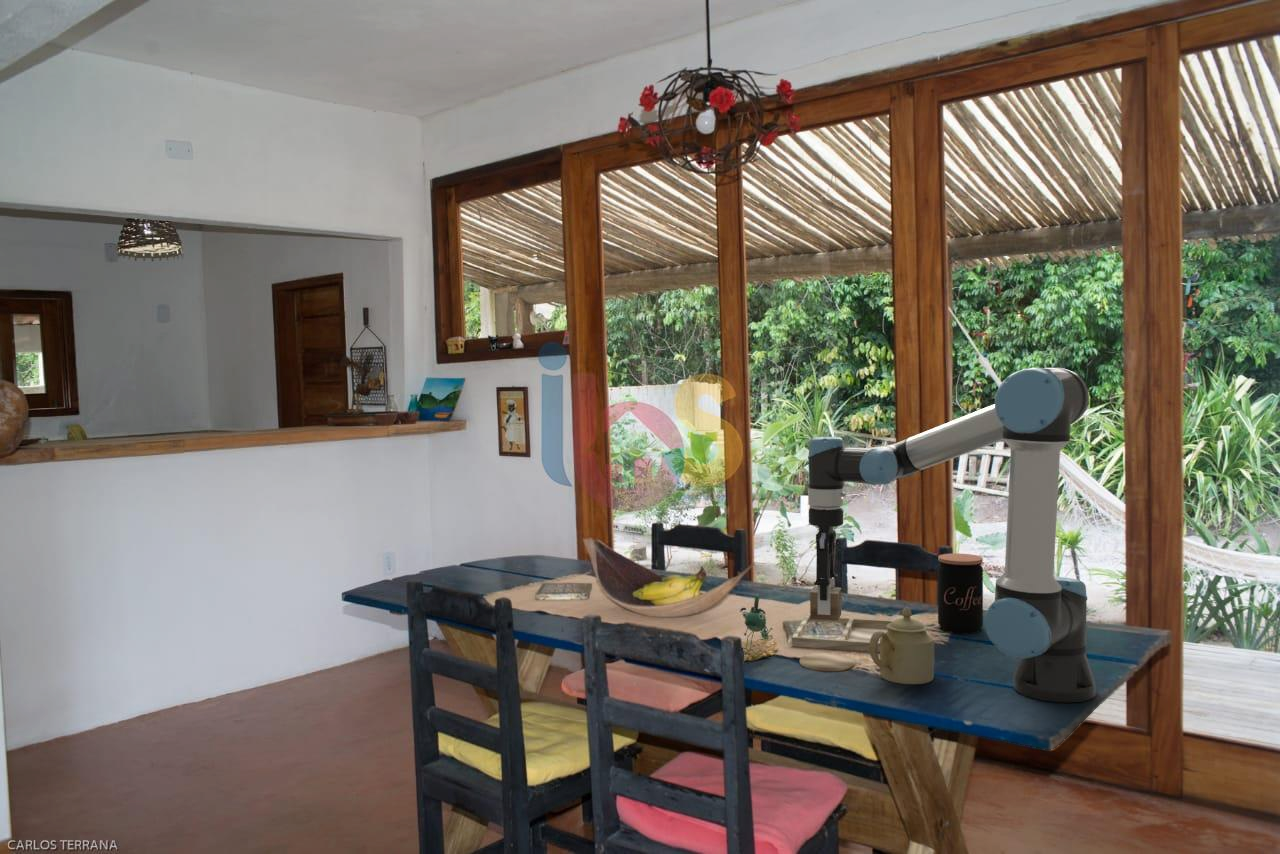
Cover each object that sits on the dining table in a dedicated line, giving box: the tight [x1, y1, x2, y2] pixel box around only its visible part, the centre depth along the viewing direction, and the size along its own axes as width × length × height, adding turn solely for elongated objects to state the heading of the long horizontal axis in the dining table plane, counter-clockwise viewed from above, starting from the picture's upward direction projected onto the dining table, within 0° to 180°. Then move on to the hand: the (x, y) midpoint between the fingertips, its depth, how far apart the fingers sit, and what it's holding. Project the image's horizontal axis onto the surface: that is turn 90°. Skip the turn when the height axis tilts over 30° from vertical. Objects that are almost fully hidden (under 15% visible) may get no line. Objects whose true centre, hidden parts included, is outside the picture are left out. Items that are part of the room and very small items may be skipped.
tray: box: [791, 614, 895, 653], centre depth 236 cm, size 22×23×2 cm
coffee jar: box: [937, 553, 984, 634], centre depth 243 cm, size 11×11×18 cm
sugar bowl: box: [869, 606, 935, 685], centre depth 204 cm, size 15×11×15 cm
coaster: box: [799, 652, 856, 672], centre depth 217 cm, size 12×12×1 cm
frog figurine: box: [739, 594, 779, 662], centre depth 225 cm, size 10×18×15 cm, turn 141°
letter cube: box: [809, 585, 842, 621], centre depth 216 cm, size 6×6×6 cm
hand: (826, 610), depth 216 cm, fingers closed on letter cube, 6 cm apart
